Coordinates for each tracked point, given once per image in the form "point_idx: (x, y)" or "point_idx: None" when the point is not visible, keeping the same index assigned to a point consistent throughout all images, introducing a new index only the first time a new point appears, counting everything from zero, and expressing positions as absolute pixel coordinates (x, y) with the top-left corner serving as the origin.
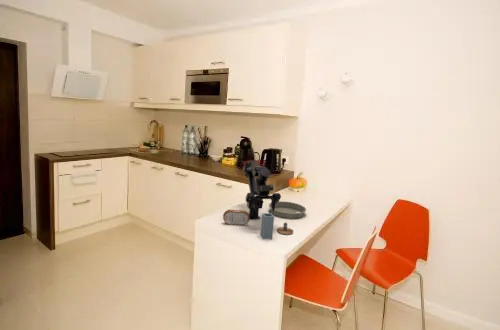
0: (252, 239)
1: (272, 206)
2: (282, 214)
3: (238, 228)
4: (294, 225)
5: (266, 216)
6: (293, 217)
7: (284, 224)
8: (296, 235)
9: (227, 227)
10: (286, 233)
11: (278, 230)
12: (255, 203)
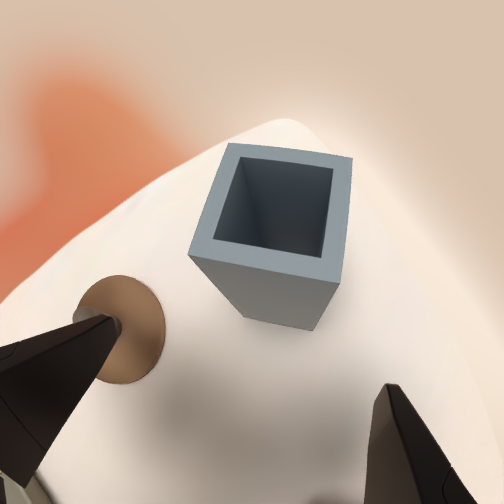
0: (391, 277)
1: (58, 389)
2: (31, 492)
3: None
4: None
5: (326, 157)
6: None
7: (94, 315)
8: (96, 261)
9: None
10: (133, 280)
11: (150, 341)
12: (436, 498)
